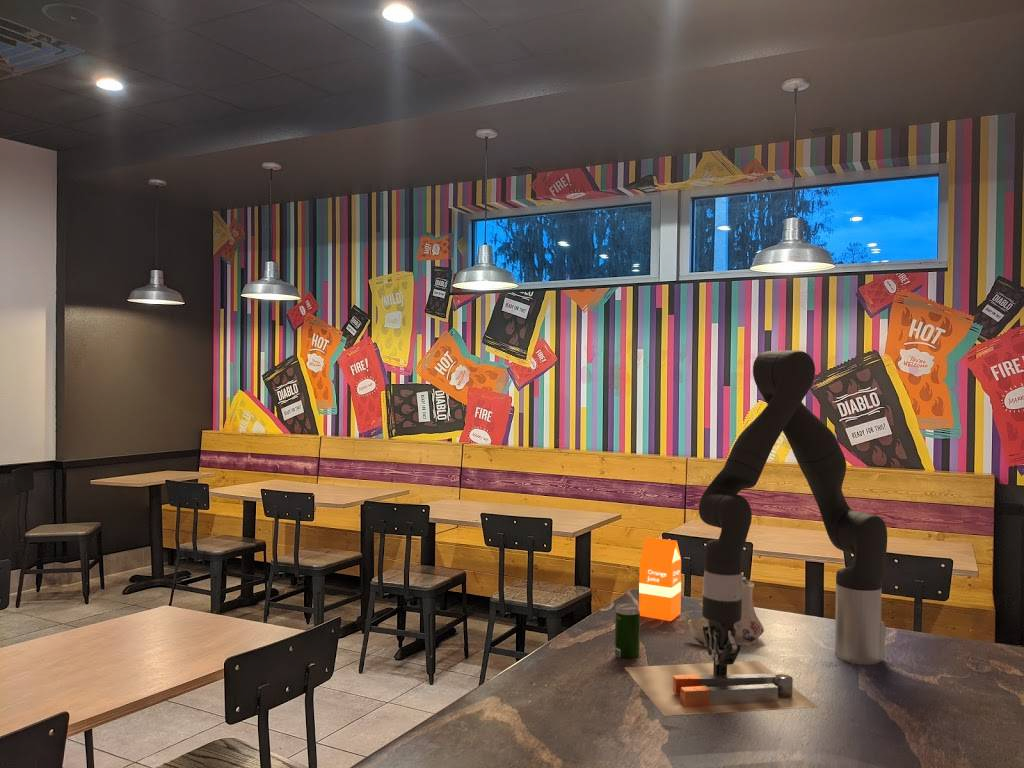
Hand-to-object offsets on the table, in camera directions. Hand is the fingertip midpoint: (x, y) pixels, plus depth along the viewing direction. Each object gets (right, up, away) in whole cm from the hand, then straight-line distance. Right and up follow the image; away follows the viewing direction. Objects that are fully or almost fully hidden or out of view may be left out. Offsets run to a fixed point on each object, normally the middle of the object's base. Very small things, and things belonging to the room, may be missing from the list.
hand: (719, 682), depth 156 cm
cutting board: (-1, -3, +1) cm, 3 cm away
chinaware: (+11, -3, +36) cm, 37 cm away
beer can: (-16, -3, +18) cm, 24 cm away
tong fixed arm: (0, -1, -7) cm, 7 cm away
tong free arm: (+2, -1, -4) cm, 4 cm away
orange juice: (-2, -2, +53) cm, 53 cm away
